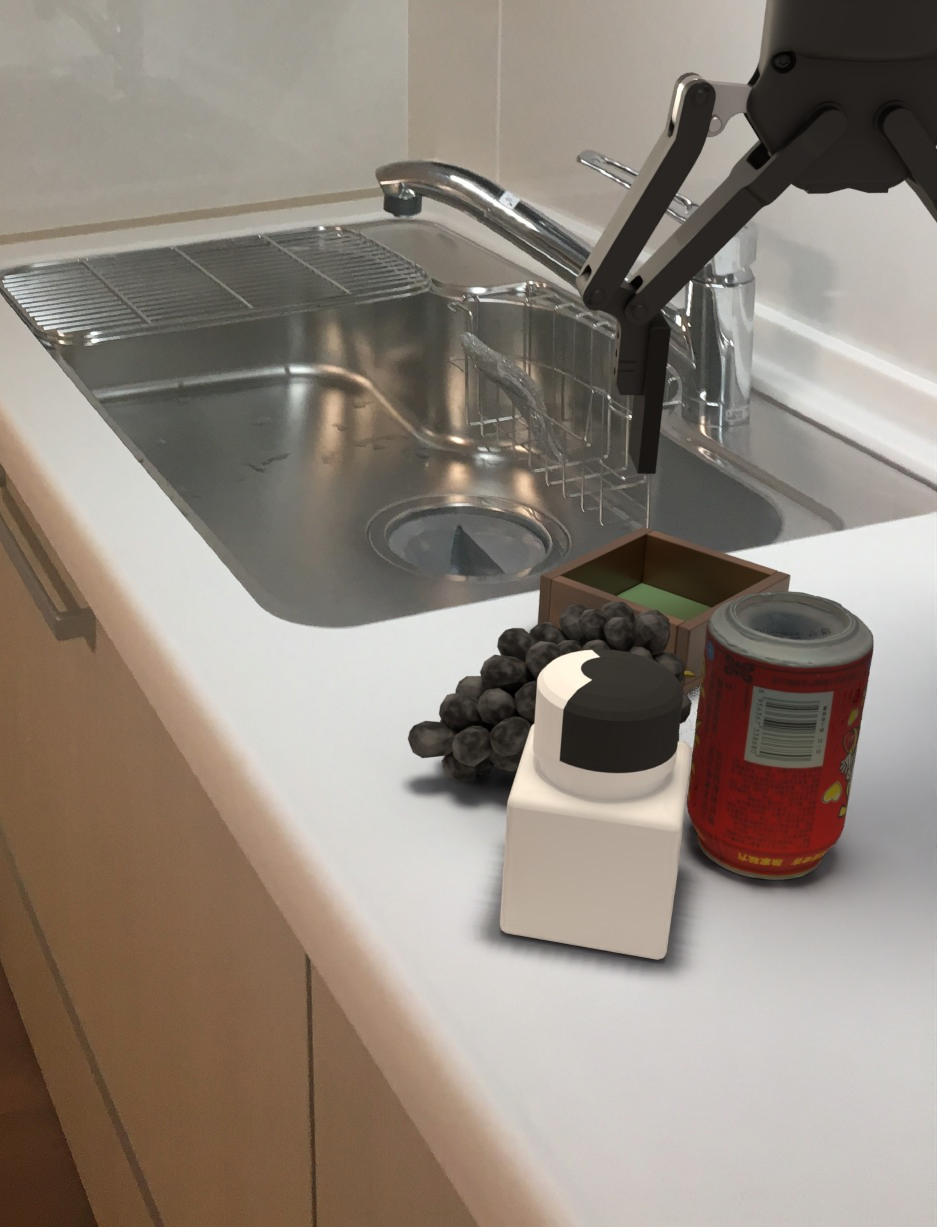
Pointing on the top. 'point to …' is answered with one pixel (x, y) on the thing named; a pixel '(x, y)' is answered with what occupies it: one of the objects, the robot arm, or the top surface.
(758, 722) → the soda can
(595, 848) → the medicine bottle
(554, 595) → the wooden box tray
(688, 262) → the robot arm
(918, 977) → the top surface
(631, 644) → the fruit
